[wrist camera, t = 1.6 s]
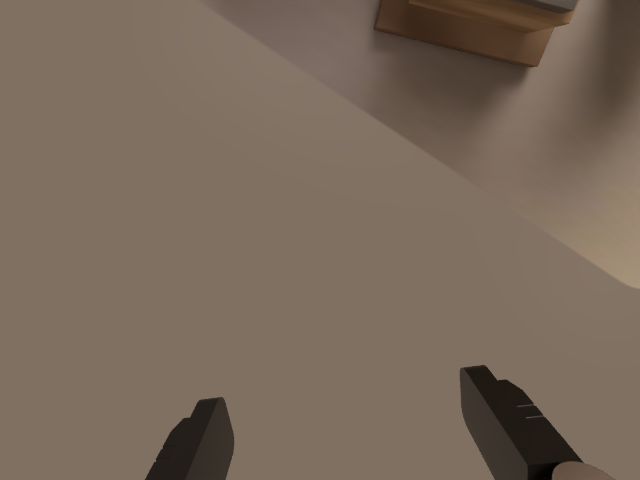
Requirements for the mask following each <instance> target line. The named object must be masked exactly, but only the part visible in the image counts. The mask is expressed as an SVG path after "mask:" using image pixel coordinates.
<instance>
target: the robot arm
mask: <svg viewBox="0 0 640 480" xmlns="http://www.w3.org/2000/svg"><path fill="white" fill-rule="evenodd" d="M460 387H461V407H462V413H463V417H464V420H465V423H466V425H467V428H468V430H469V431H470V433H471V435H472V437H473V439H474V441H475V443H476V444H477V446H478V448H479V450H480V452H481V454H482V456H483V458H484V460H485V462H486V463H487V465H488V467H489V469H490V471H491V473H492V475H493V477H494V479H495V480H615V479H614V478H613V477H611V476H610V475H608V474H607V473H605V472H604V471H602V470H600V469H598V468H596V467H594V466H592V465H589V464H585V463H584V462H583V461H582V460H581V459H580V458H579V457H578V456H577V454H576V453H575V452H574V451H573V449H572V448H571V447H570V446H569V445H568V444H567V442H566V441H565V440H564V439H563V438H562V436H561V435H560V434H559V433H558V432H557V430H555V428H554V427H553V426H552V425H551V423H550V422H549V421H548V420H547V419H546V418H545V417H544V416H543V414H542V413H541V412H540V410H539V409H538V408H537V407H536V406H534V404H533V402H532V401H531V400H530V398H529V397H528V396H527V395H526V394H525V393H524V392H523V390H522V389H520V388H519V387H517V386H516V385H514V384H512V383H511V382H509V381H508V380H498V381H497V379H496V378H495V377H494V376H493V374H492V373H491V372H490V370H489V369H488V368H487V367H486V366H485V365H481V366H472V367H464V368H461V369H460ZM233 450H234V434H233V430H232V426H231V423H230V418H229V415H228V411H227V407H226V403H225V400H224V399H223V398H222V397H218V398H210V399H203V400H199V402H198V403H197V405H196V407H195V409H194V411H193V413H192V415H191V417H190V418H184V419H183V420H182V421H181V422H180V423H179V424H178V425H177V426H176V427H175V428H174V429H173V430H172V431H171V432H170V434H169V436H168V438H167V440H166V442H165V443H164V445H163V449H162V450H161V451H160V453H159V455H158V456H157V458H156V462H154V464H153V466H152V468H151V469H150V471H149V474H148V475H147V477H146V479H145V480H225V479H226V476H227V472H228V469H229V466H230V462H231V459H232V455H233Z"/></svg>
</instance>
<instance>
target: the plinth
mask: <svg viewBox="0 0 640 480" xmlns="http://www.w3.org/2000/svg"><path fill="white" fill-rule="evenodd" d="M578 2H579V0H380V5H379V9H378V13H377V17H376V22H375V26H374V29H375V30H379V31H383V32H387V33H391V34H395V35H399V36H403V37H407V38H411V39H415V40H419V41H423V42H427V43H432V44H436V45H440V46H444V47H448V48H452V49H456V50H460V51H464V52H468V53H472V54H476V55H480V56H484V57H488V58H492V59H496V60H500V61H505V62H509V63H513V64H517V65H521V66H525V67H537V66H538V64H539V62H540V60H541V57H542V55H543V53H544V50H545V48H546V46H547V43H548V41H549V39H550V36H551V34H552V32H553V29H554V27H557V26H562V25H566V24H569V23H570V20H571V18H572V16H573V14H574V11H575V9H576V7H577V5H578Z"/></svg>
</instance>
